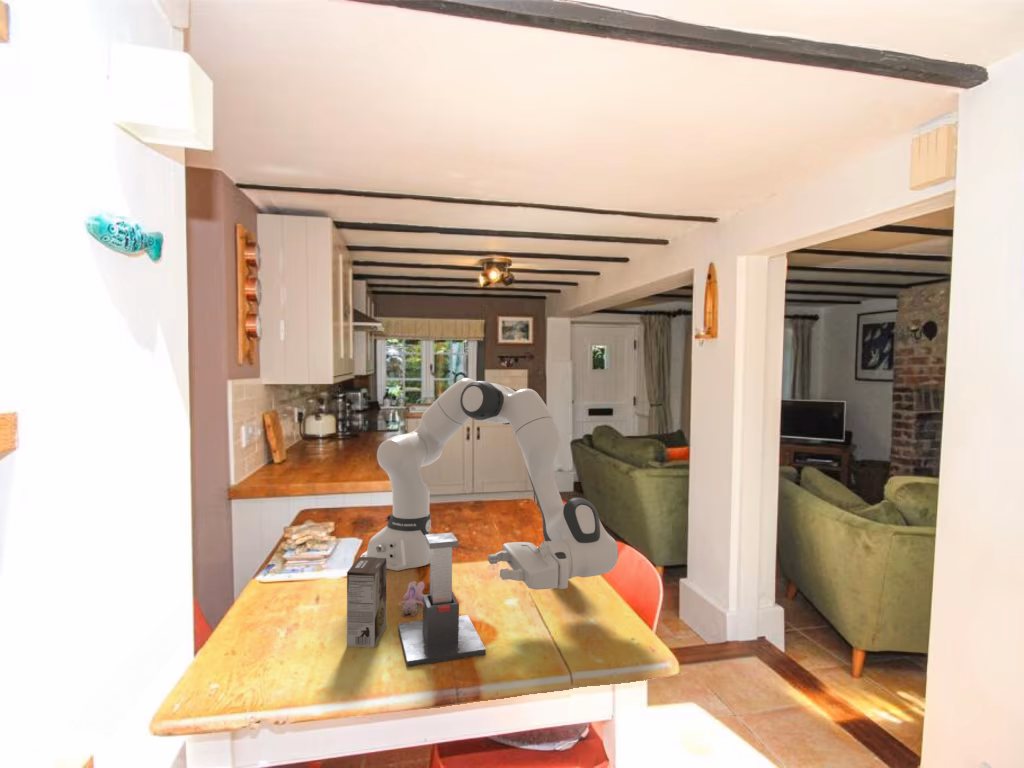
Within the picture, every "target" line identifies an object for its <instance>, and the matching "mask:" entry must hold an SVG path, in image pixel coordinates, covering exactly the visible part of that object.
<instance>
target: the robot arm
mask: <svg viewBox="0 0 1024 768" xmlns="http://www.w3.org/2000/svg"><path fill="white" fill-rule="evenodd" d="M471 419H472V420H475V421H481V422H483V423H488V424H502V425H510V426H511V429H512V431H513V434H514V437H515V439H516V441H517V444H518V447H519V448H520V451H521V454H522V456H523V460H524V464H525V466H526V470H527V474H528V477H529V480H530V484H531V487H532V490H533V492H534V495H535V499H536V501H537V505H538V508H539V511H540V514H541V517H542V535H543V538H545V541H542V542H541V543H540V545H539V546H537V545H535V544H534V543H532V542H529V541H517V542H515V541H514V542H512V541H511V542H505V543H503V544H502V550H500V551H498V552H496V553H492V554H488V555H487V562H489V564H491V565H496V564H498V563H500V562H504V563H505V562H506V564H508V565H509V567H510V568H511V569H509V568H504V569H503V568H501V569H500V570H499V577H500V579H502V581H506V580H507V581H508V580H511V581H516V582H517V581H518V582H521V581H522V582H523V584H525V585H526V587H527V588H529V589H531V590H534V591H535V590H540V591H541V590H549V589H557V588H558V589H559V590H565V589H568V588H569V580H570V579H573V578H575V577H576V578H577V577H578V578H579V577H580V578H590V577H597V576H602V575H605V574H608V573H610V572H611V571H612V570H614V568H615V567H616V566H617V563H618V560H619V548H618V543H617V541H616V540H615V539H614V538H613V536H611V535H610V534H609V533H608V532H607V531H606V529H605V527H604V525H603V524H602V522H601V520H600V516H599V512H598V510H597V508H596V506H595V505H594V504H593V503H592V502H590V501H589V500H588V499H586V498H583V497H573V498H570V499H569V500H567V501H566V502H564V503H563V499H562V496H561V494H560V491H559V488H558V485H557V482H556V478H555V477H556V476H555V468H556V463H557V459H558V456H559V453H560V450H561V446H562V440H561V434H560V431H559V429H558V426H557V424H556V421H555V420H554V417H553V415H552V412H550V409H549V407H548V406H547V404H546V403H545V402H544V400H543V399H542V397H541V396H540V395H539V393H538V392H537V391H535V390H534V389H532V388H521V389H518V390H517V389H515V388H512V387H509V386H506V385H504V384H500V383H494V382H489V381H484V380H477V381H476V380H474V379H473V378H470V377H469V378H468V377H464V378H460V379H459V380H457V381H456V382H455V383H453V384H452V385H450V386H449V387H448V388H446V389H445V390H444V391H443V392H442V393H441V394H440V395H439V396H438V397H437V399H435V401H434V402H432V404H431V405H429V407H428V408H427V409H425V411H424V412H423V413H422V415H421V421H420V423H419V425H418V426H417V428H415V429H414V430H413V431H411V432H408V433H403V434H398V435H394V436H391V437H390V438H388V439H386V440H384V441H382V442H381V443H380V445H379V446H378V448H377V452H376V460H377V463H378V464H379V466H380V468H381V469H382V470H384V471H385V473H386V474H387V476H388V478H389V481H390V485H391V491H392V512H391V513H390V514H388V516H387V517H385V518H384V523H386V522H387V524H386V526H385V527H383V528H382V529H381V530H379V531H378V532H376V534H373V536H372V537H371V538H370V540H369V541H368V545H367V550H366V551H365V552H363V553H362V554H361V555H360V556H359V557H376V558H386V570H392V571H394V572H395V571H396V572H399V571H402V570H403V571H404V570H406V569H414V568H415V569H416V568H419V567H423V566H427V565H430V549H429V547H428V545H427V543H426V541H425V535H427V534H431V528H432V526H431V525H432V520H431V519H432V517H431V515H432V514H431V512H430V494H431V493H430V487H429V486H428V484H427V483H425V482H424V480H423V475H422V471H421V469H422V467H427V466H429V465H432V464H433V463H434V462H436V461H437V460H439V459H440V458H441V456H442V454H443V452H444V448H445V446H446V445H447V444H448V442H449V441H450V440H451V439H452V438H453V436H454V435H456V434H457V433H458V432H459V431H460V430H461V429H462V427H464V426H465V424H466V423H468V422H469V421H470V420H471Z"/></svg>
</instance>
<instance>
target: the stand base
mask: <svg viewBox="0 0 1024 768" xmlns="http://www.w3.org/2000/svg"><path fill="white" fill-rule="evenodd" d="M422 602H423V605H422V620H417V621H411V622H401V623H398V626H397V627H398V630H397V631H398V632H399V638H400V642H401V646H402V650H403V654H404V655H403V656H404V658H405V664H406V667H407V668H411V667H417V666H423V665H424V666H425V665H429V664H436V663H442V662H443V663H444V662H448V661H455V660H460V659H469V658H473V657H481V656H485V655H486V654H487V653H486V651H487V650H486V647H485V645H484V643H483V641H482V640H481V637H480V635H479V634H478V632H477V630H476V628H475V626H474V624H473V623H472V620H471V618H470V616H469V614H463V615H460V612H459V611H460V603H459V601H458V599H457V598H456V595H455V594H454V592H453V590H452V603H449V604H441V605H433V606H431V605H430V593H429V594H428V593H427V594H423V600H422Z"/></svg>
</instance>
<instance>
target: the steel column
mask: <svg viewBox="0 0 1024 768" xmlns="http://www.w3.org/2000/svg"><path fill="white" fill-rule="evenodd" d="M425 541H426V543H427V545H428V547H429V549H430V563H429V594H430V605H431V606H433V605H441V604H449V603H452V591H453V587H452V586H453V548H457V547H459V540H458V539H457V537H456V536H455V534H454V533H453V532H444V533H443V532H442V533H432V534H431V533H430V534H427V535H425Z"/></svg>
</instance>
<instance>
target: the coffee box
mask: <svg viewBox="0 0 1024 768" xmlns="http://www.w3.org/2000/svg"><path fill="white" fill-rule="evenodd" d="M386 628H387V568H386V558H376V557H360V556H359V557H358V558H357V559H356V561H355V562H354V563H353V564H352V565H351V567H350V568H349V569H348V571H346V647H349V648H350V647H353V648H372V649H373V648H376V646H377V645H378V643H379V641H380V639H381V637H382V635H383V633H384V631H385V630H386Z"/></svg>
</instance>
